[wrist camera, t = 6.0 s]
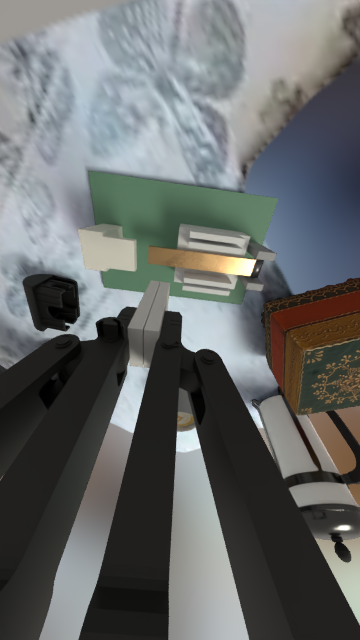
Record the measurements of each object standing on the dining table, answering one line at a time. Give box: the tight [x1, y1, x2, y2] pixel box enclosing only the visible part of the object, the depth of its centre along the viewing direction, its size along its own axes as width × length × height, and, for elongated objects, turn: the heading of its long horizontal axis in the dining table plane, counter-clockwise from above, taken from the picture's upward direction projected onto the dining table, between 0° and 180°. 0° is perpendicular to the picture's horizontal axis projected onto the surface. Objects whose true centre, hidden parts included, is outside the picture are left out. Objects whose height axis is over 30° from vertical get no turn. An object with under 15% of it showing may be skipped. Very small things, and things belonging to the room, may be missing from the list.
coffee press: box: [252, 387, 360, 562], centre depth 42 cm, size 17×16×30 cm
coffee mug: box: [177, 388, 196, 432], centre depth 50 cm, size 13×10×10 cm
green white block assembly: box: [88, 171, 278, 305], centre depth 28 cm, size 28×18×9 cm, turn 83°
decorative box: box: [261, 278, 360, 415], centre depth 32 cm, size 20×22×16 cm
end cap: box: [23, 274, 80, 331], centre depth 35 cm, size 10×7×7 cm
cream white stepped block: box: [78, 224, 137, 272], centre depth 27 cm, size 7×5×8 cm
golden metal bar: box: [148, 245, 264, 278], centre depth 26 cm, size 17×3×1 cm, turn 83°
